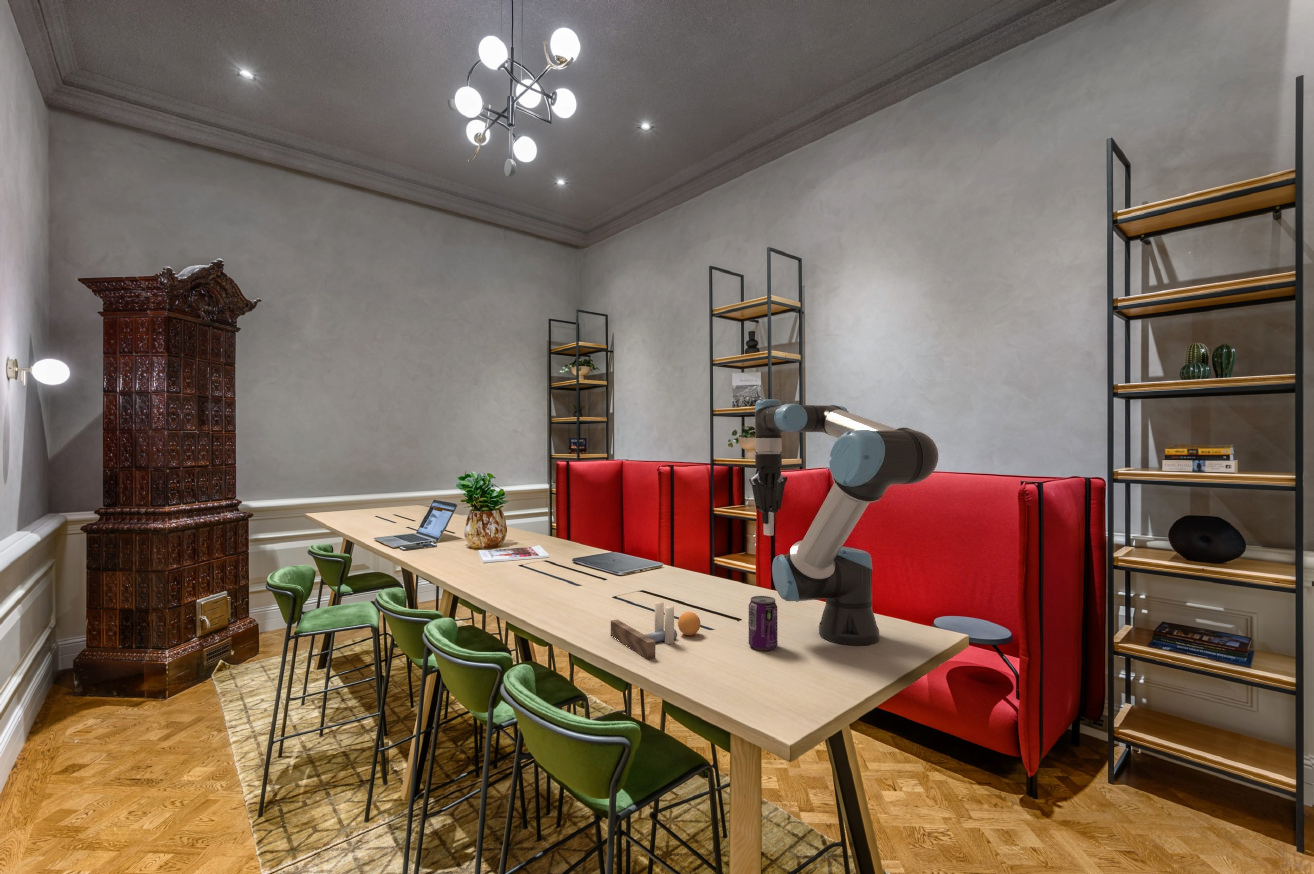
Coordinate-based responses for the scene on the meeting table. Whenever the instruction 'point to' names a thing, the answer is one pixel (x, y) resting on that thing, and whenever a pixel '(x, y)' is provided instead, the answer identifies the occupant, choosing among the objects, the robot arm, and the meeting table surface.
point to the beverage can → (763, 623)
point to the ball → (689, 623)
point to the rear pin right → (659, 616)
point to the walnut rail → (633, 639)
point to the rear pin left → (669, 625)
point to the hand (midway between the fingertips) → (768, 534)
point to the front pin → (659, 636)
